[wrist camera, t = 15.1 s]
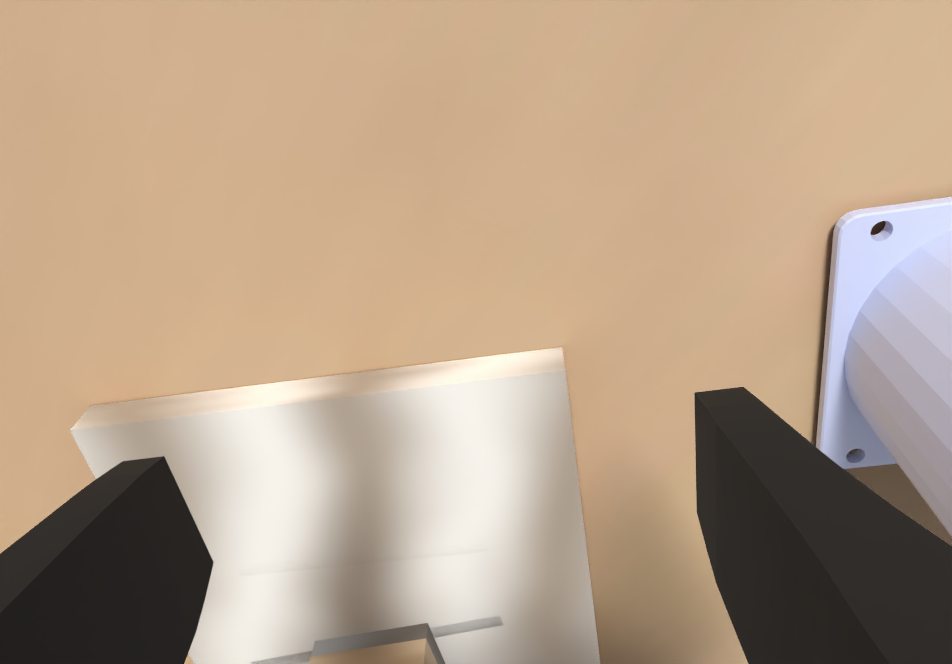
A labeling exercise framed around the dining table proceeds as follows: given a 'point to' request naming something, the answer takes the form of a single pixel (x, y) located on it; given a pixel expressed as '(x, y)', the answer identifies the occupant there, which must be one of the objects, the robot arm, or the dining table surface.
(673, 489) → the dining table surface
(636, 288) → the dining table surface
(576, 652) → the board
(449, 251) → the dining table surface
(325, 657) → the block
